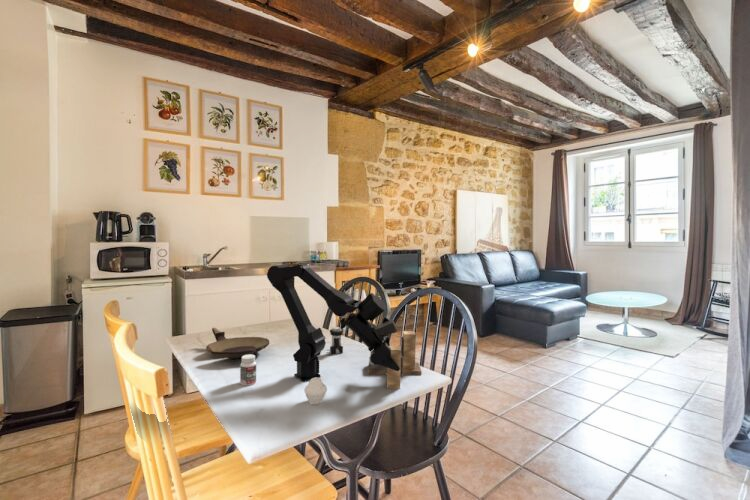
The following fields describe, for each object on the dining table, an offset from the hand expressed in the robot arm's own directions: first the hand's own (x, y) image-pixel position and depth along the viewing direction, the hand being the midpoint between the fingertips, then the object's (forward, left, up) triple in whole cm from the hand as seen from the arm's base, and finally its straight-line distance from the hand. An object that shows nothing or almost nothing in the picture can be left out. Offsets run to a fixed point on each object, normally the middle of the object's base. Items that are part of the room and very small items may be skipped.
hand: (398, 364), depth 111 cm
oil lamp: (-29, +60, -7) cm, 67 cm away
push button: (+1, +37, -7) cm, 38 cm away
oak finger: (-1, +1, -7) cm, 7 cm away
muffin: (-26, +6, -7) cm, 27 cm away
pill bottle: (-36, +30, -7) cm, 47 cm away
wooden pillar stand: (+8, +10, -7) cm, 15 cm away
